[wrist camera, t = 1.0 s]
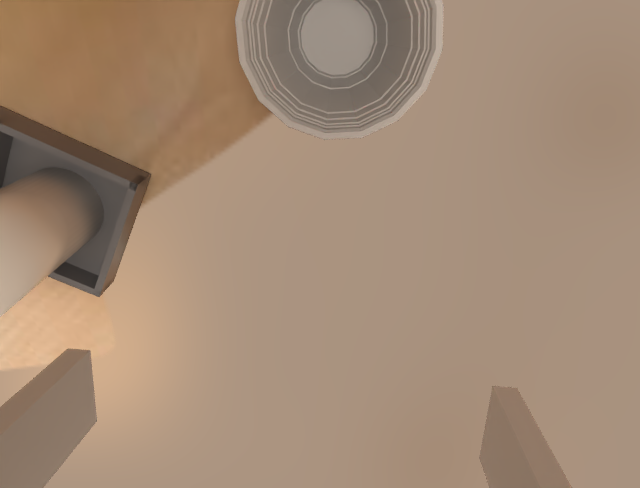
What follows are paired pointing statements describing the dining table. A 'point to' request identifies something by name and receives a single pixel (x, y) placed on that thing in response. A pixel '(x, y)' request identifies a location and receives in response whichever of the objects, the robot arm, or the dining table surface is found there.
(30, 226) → the salt shaker
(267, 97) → the plastic cup
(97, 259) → the shaker caddy
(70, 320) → the dining table surface
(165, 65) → the dining table surface
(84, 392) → the robot arm
